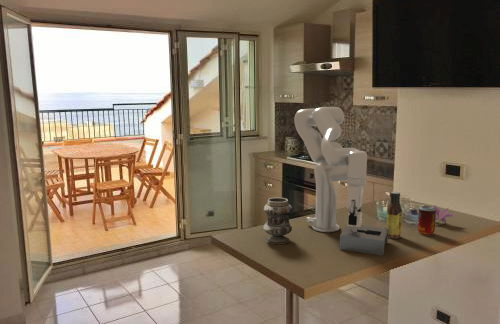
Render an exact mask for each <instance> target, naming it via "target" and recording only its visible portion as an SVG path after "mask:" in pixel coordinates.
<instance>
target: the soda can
mask: <svg viewBox="0 0 500 324" xmlns="http://www.w3.org/2000/svg"><path fill="white" fill-rule="evenodd" d="M432 206H433V205H432ZM432 206H430V205H422V206H419V207H418V217H417V219H418V220H417V231H418V234H420V235H421V236H426V237H430V236H433V235H434V233H435V230H436V220H435V218H436V209H435V208H434V207H432Z"/></svg>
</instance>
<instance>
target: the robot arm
mask: <svg viewBox="0 0 500 324" xmlns="http://www.w3.org/2000/svg"><path fill="white" fill-rule="evenodd" d="M344 120H345V114H344V111H343V110H342V108H340V107H338V106H321V107H318V108H304V109H299V110H298V111H297V112H296V113H295V115H294V121H293V122H294V127H295V129H296V132H297V133H298V135H299V136H300V138H301V139H302V141H303V143H304V144H305V148H306V149H307V152H308V155H309V157H310V158H311V160H312V161H313V162H314V163H316V164H315V166H314V169H313V170H314V178H315V216H314V217H309V216H307V217H306V222H307V223H312V224H311V228H312V229H313V230H314V231H317V232H322V233H334V232H337V231H339V230H340V225H339V224H337V209H338V208H337V207H338V191H337V187H336V186H335V184H334V182H339V181H341V182H342V181H346V185H347V186H348V188H347V198H346V209H347V210H348V211H349V212H348V213H349V219H348V218H347V224H349V225H355V226H356V225H357V216H356V213H357V212H362V205H363V196H364V194H363V193H364V187H365V186H367V185H366V184H367V167H368V163H367V162H368V154H367V152H366V151H364V150H359V149H357V148H355V147H343V146H342V145H341V143H339V142H336V141H337V139H338V138H340V136H341V134H342V128H341V126H340V125H341V124H343V122H344ZM313 127H317V129H318V130H319V131H317V130H316V129H315V128H313ZM335 140H336V141H335Z"/></svg>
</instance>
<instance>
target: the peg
mask: <svg viewBox="0 0 500 324" xmlns="http://www.w3.org/2000/svg"><path fill="white" fill-rule="evenodd" d="M356 216H357V225H356V226H355V225H349V224H348V223H347V224H346V225H347V226H352V231H353V232H357V227H360V226H361V225H363V212H362V211H361V212H357V213H356ZM348 219H349V212H348V213H347V220H348Z"/></svg>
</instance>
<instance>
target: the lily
mask: <svg viewBox="0 0 500 324" xmlns="http://www.w3.org/2000/svg"><path fill="white" fill-rule="evenodd" d="M432 207H434V208H435V209H436V218H435V221H439V222H438V223H439V224H441V223H444V224H446V223H447V218H454V217H456V215H455V214H454V213H451V212H449V210H450V208H449V207H448V208H443V209H441V208H440V207H439V206H437V205H434V204H433V205H432Z"/></svg>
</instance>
